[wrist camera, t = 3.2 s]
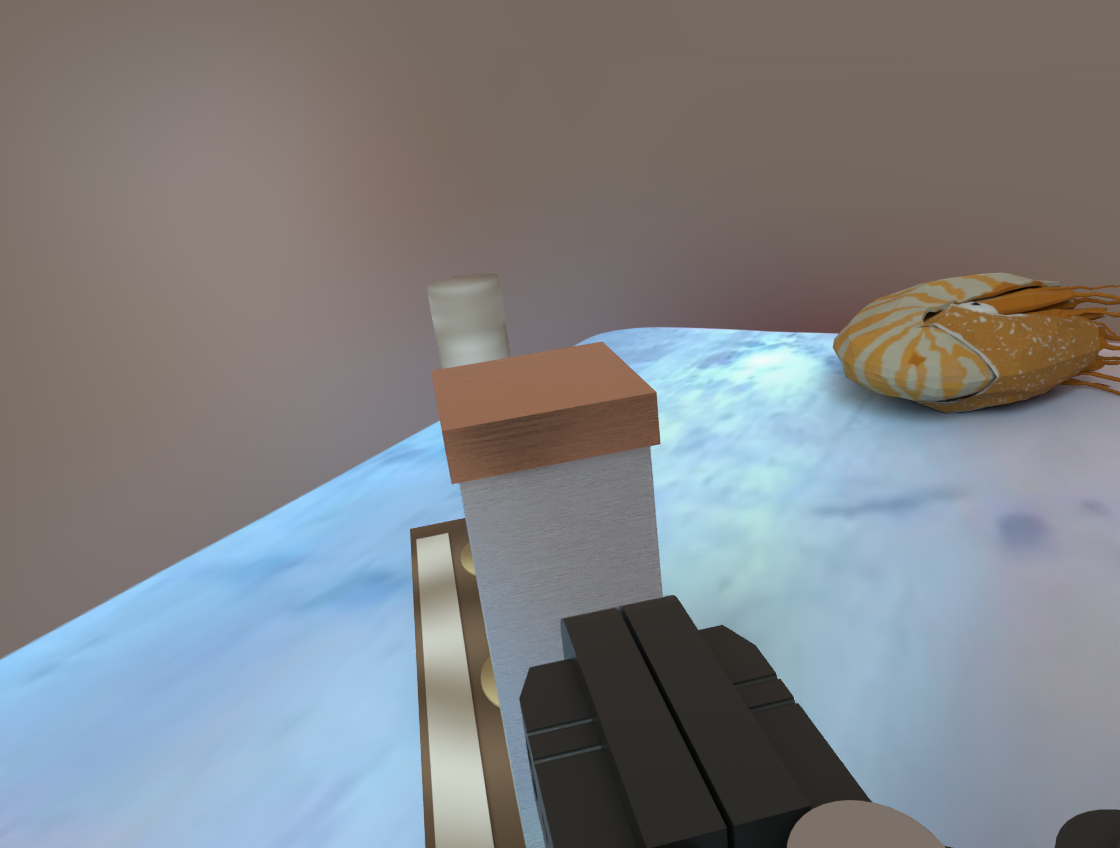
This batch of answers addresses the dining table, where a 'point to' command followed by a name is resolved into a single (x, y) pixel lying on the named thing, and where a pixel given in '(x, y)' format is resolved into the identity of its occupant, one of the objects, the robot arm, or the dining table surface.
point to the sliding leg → (550, 507)
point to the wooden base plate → (460, 625)
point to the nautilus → (976, 341)
